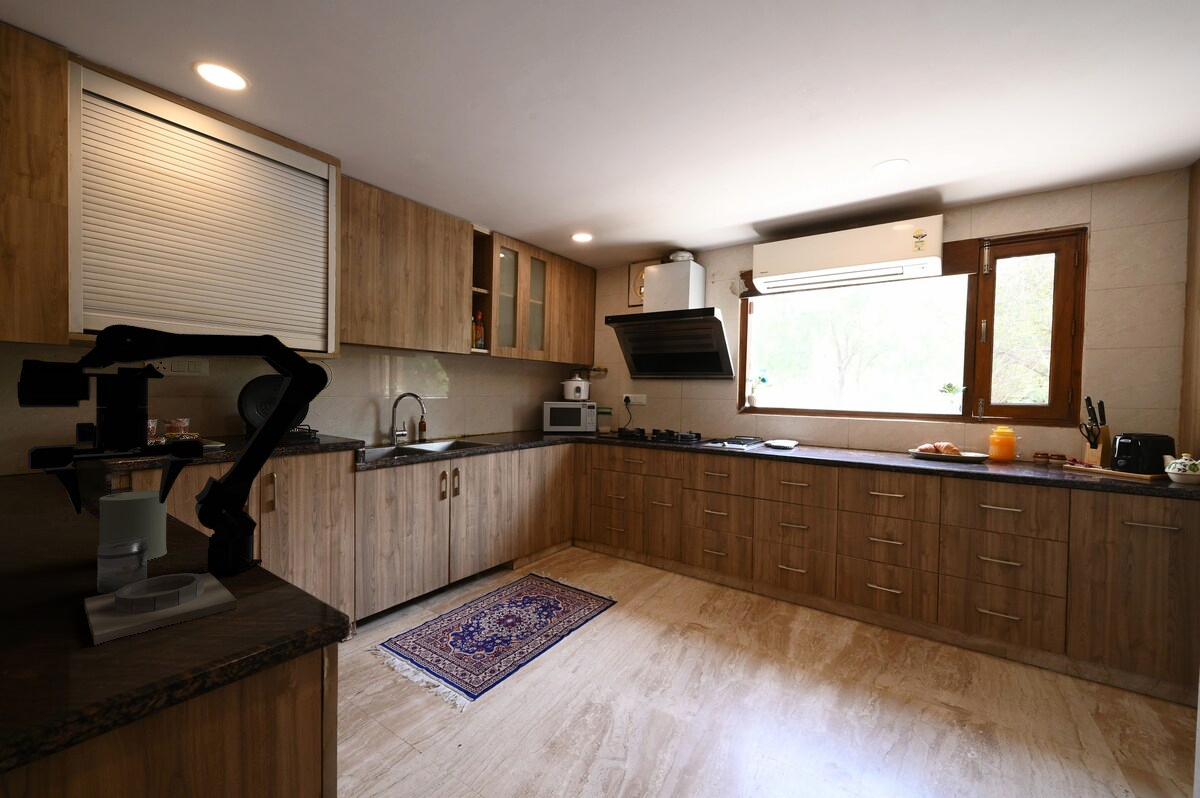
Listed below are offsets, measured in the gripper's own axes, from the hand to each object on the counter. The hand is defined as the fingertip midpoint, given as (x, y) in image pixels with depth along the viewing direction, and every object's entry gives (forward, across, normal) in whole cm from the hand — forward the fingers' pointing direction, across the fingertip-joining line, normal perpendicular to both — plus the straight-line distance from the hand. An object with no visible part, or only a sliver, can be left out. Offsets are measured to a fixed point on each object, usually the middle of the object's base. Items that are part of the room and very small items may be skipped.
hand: (122, 508), depth 75 cm
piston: (+12, 0, -1) cm, 13 cm away
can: (+13, -4, -18) cm, 23 cm away
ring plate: (+12, -2, +13) cm, 18 cm away
